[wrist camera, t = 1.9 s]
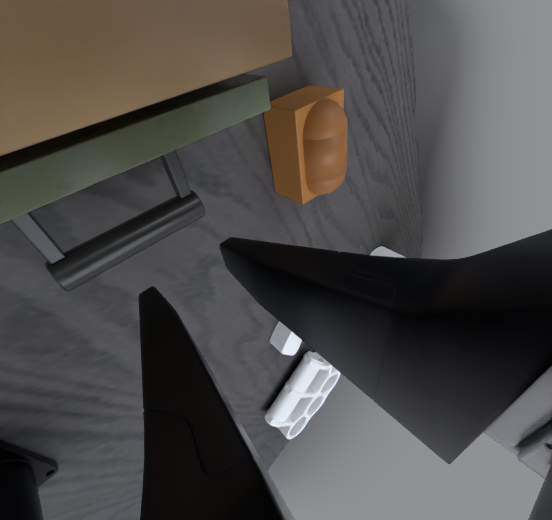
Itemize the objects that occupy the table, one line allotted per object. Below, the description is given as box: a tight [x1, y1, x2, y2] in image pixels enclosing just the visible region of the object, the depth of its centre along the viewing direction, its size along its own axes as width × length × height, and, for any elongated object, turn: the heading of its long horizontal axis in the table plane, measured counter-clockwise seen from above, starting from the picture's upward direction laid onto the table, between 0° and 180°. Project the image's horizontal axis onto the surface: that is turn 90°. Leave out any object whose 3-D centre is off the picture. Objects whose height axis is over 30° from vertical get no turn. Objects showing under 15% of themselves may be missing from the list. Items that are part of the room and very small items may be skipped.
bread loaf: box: [263, 85, 348, 205], centre depth 23 cm, size 7×5×5 cm
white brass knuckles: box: [264, 351, 340, 439], centre depth 49 cm, size 3×18×15 cm
